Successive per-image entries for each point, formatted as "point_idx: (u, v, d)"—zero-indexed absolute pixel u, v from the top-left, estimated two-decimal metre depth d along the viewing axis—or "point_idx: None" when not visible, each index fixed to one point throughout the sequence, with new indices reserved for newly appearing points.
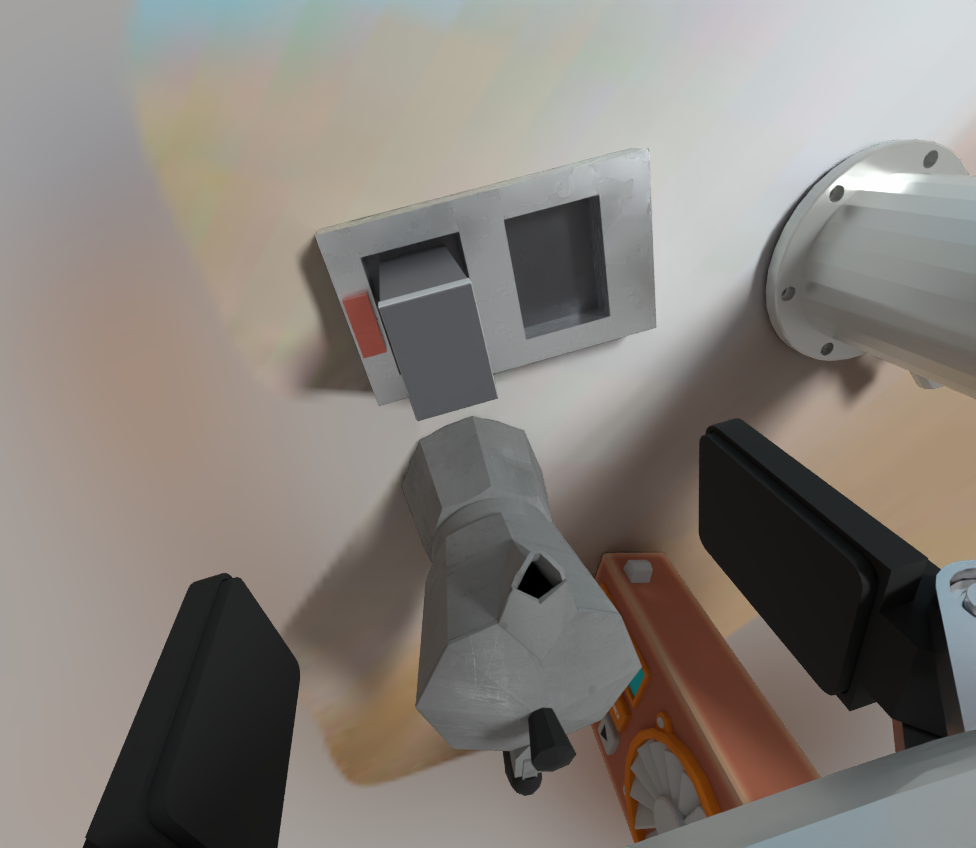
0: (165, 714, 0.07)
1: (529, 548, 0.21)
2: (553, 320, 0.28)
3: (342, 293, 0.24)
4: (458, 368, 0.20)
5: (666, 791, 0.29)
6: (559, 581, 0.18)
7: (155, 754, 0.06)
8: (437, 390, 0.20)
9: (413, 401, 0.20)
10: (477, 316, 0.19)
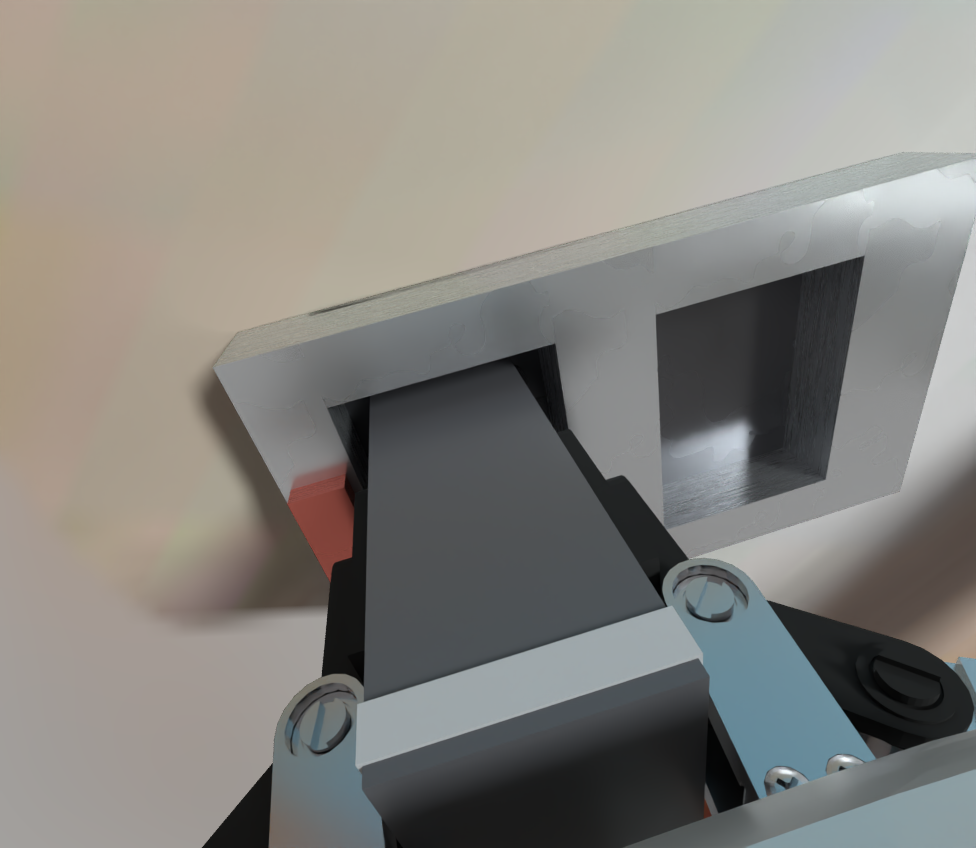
0: None
1: None
2: (701, 475, 0.15)
3: (289, 480, 0.11)
4: None
5: None
6: None
7: None
8: None
9: None
10: (702, 741, 0.05)
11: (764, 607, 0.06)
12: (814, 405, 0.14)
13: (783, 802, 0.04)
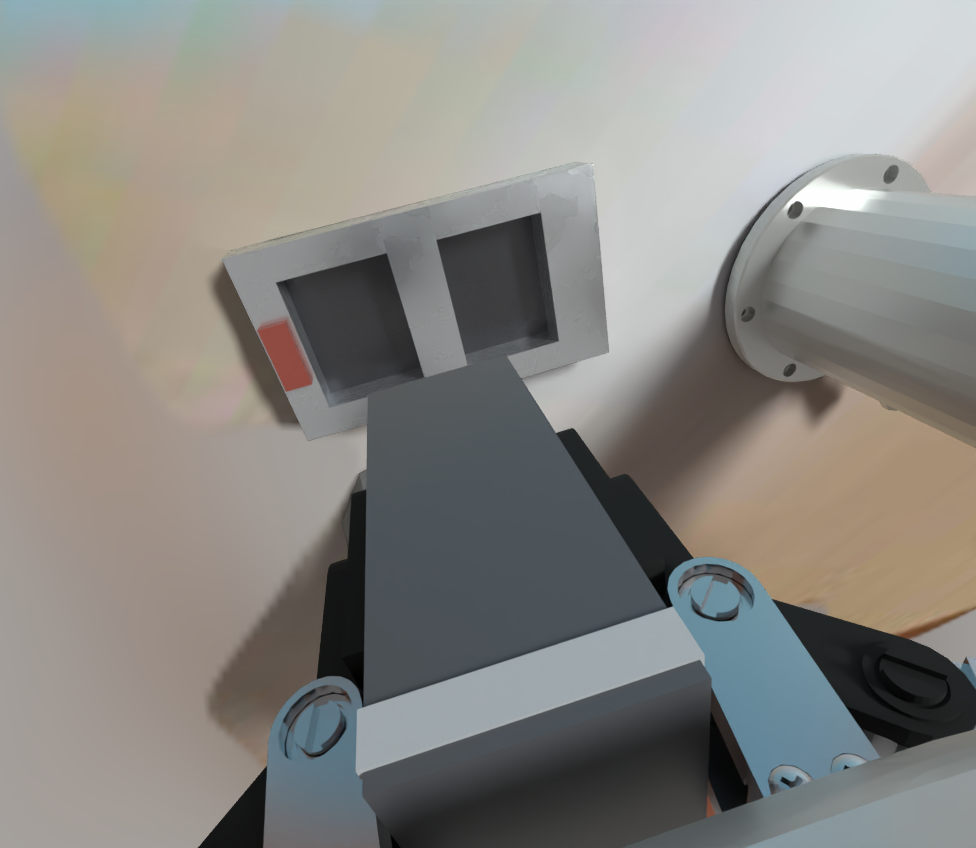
0: None
1: None
2: (499, 345, 0.26)
3: (258, 321, 0.22)
4: None
5: None
6: None
7: None
8: None
9: None
10: (704, 743, 0.05)
11: (770, 606, 0.06)
12: (548, 298, 0.25)
13: (783, 802, 0.04)
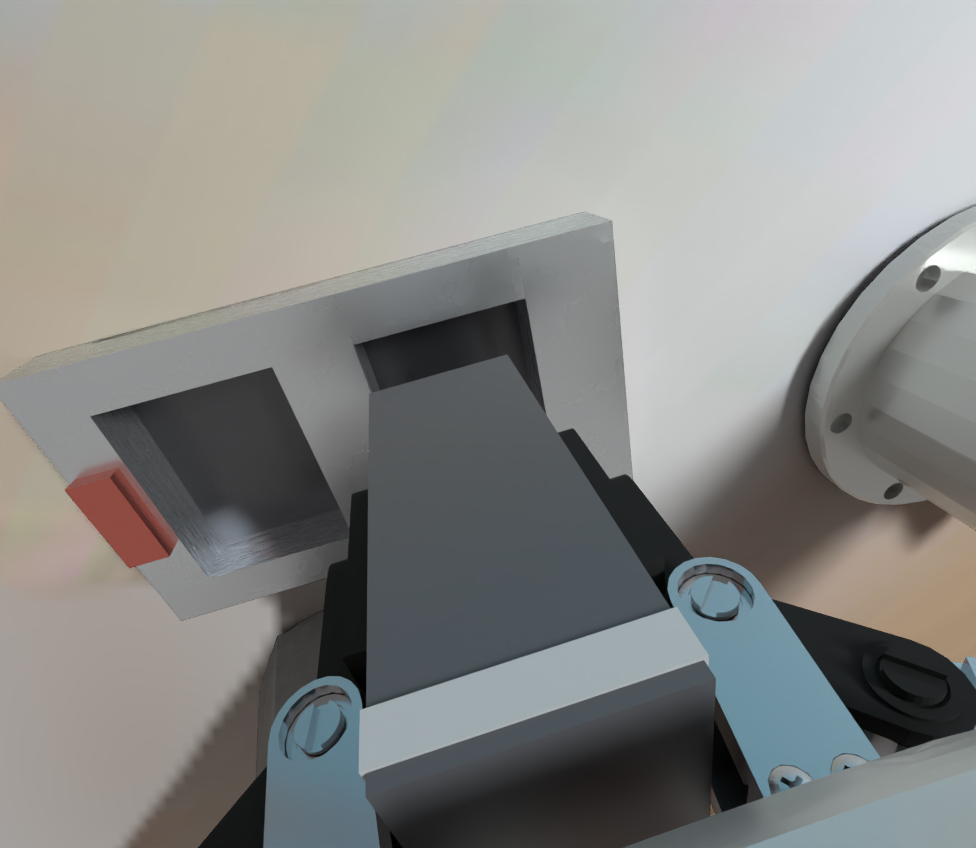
0: None
1: None
2: None
3: (71, 472, 0.14)
4: None
5: None
6: None
7: None
8: None
9: None
10: (708, 743, 0.05)
11: (770, 606, 0.06)
12: None
13: (783, 802, 0.04)
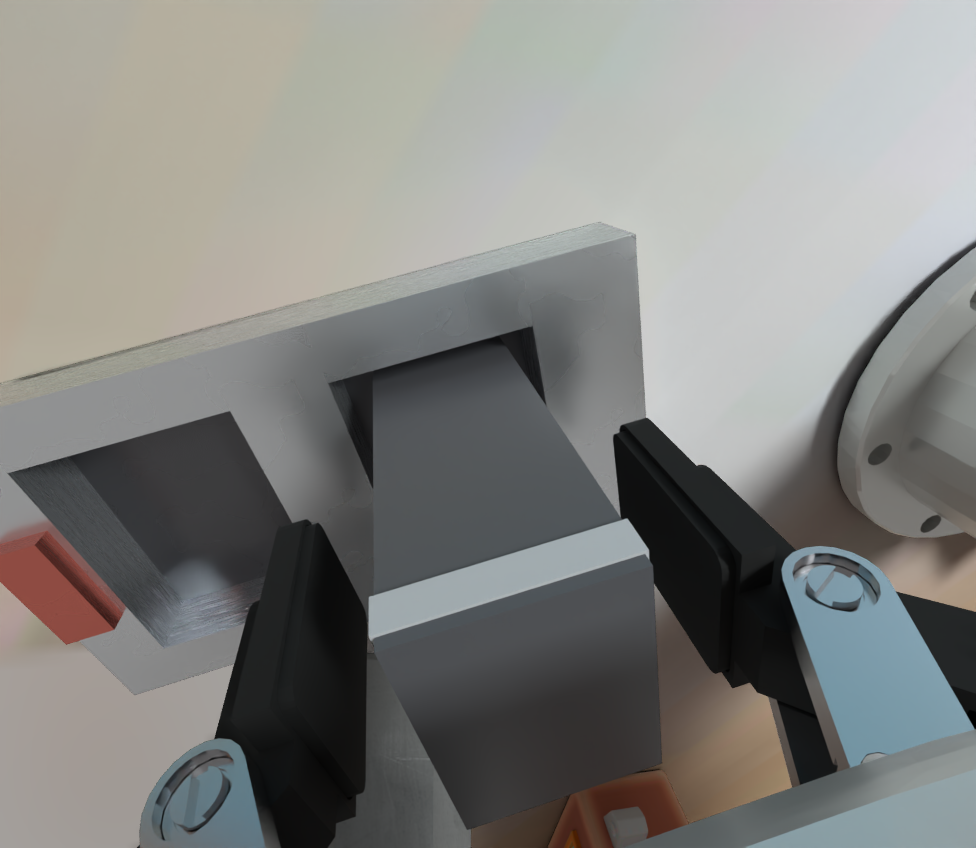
0: (279, 628, 0.07)
1: None
2: None
3: None
4: (581, 732, 0.07)
5: None
6: None
7: (278, 658, 0.07)
8: (521, 776, 0.08)
9: (459, 803, 0.08)
10: (652, 630, 0.07)
11: (897, 607, 0.06)
12: None
13: (783, 802, 0.04)
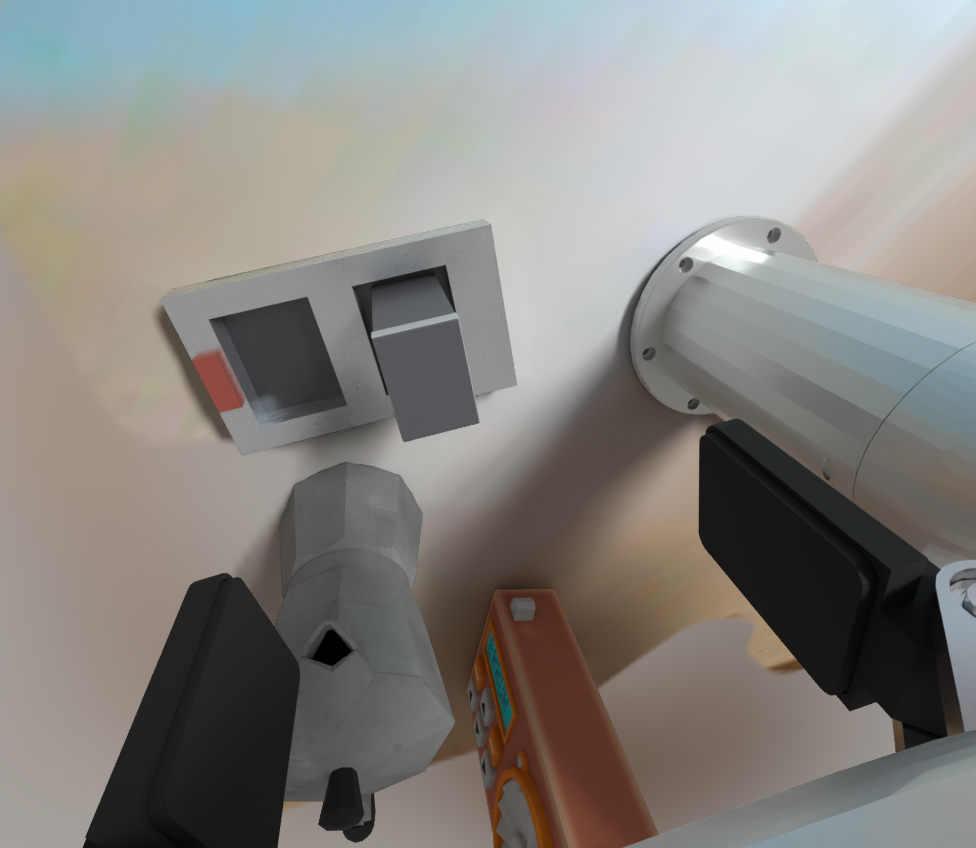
0: (165, 714, 0.07)
1: (353, 607, 0.22)
2: None
3: (193, 352, 0.25)
4: (443, 395, 0.21)
5: (521, 830, 0.30)
6: (352, 649, 0.19)
7: (154, 754, 0.06)
8: (423, 414, 0.21)
9: (400, 424, 0.21)
10: (463, 348, 0.20)
11: None
12: None
13: (783, 802, 0.04)
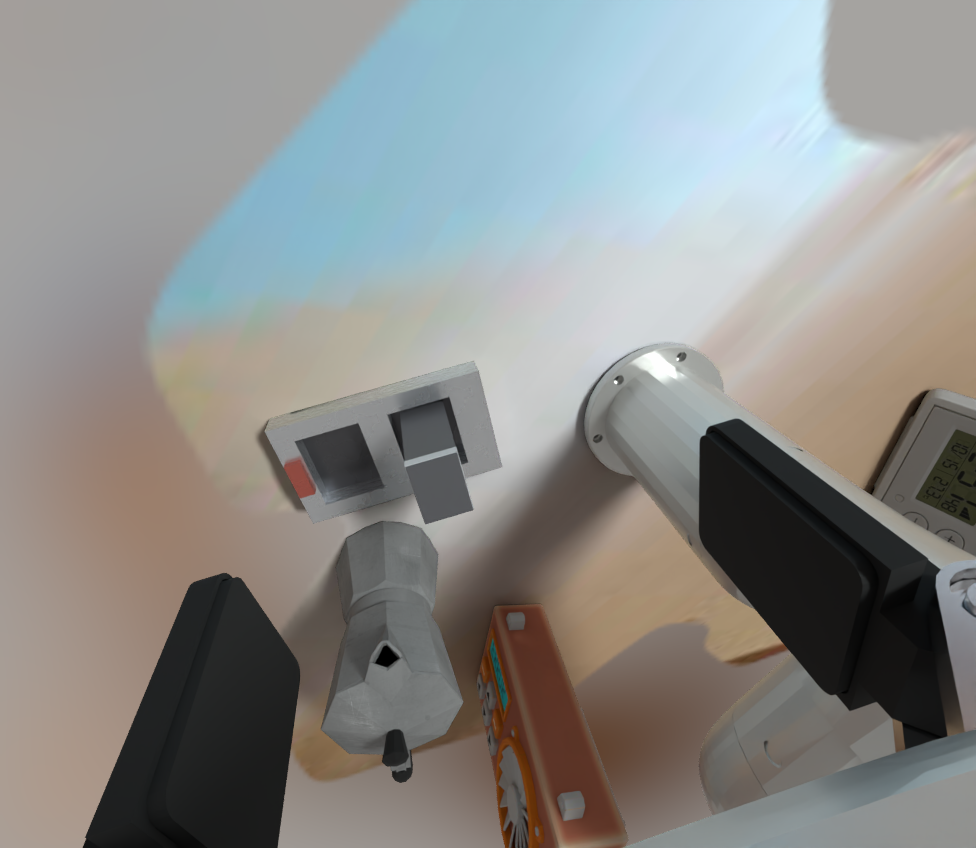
0: (165, 714, 0.07)
1: (396, 629, 0.35)
2: None
3: (284, 461, 0.37)
4: (450, 495, 0.33)
5: (514, 780, 0.43)
6: (399, 657, 0.31)
7: (155, 754, 0.06)
8: (437, 507, 0.34)
9: (423, 513, 0.34)
10: (461, 469, 0.33)
11: None
12: None
13: (783, 802, 0.04)
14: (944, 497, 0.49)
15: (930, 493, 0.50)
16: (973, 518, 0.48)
